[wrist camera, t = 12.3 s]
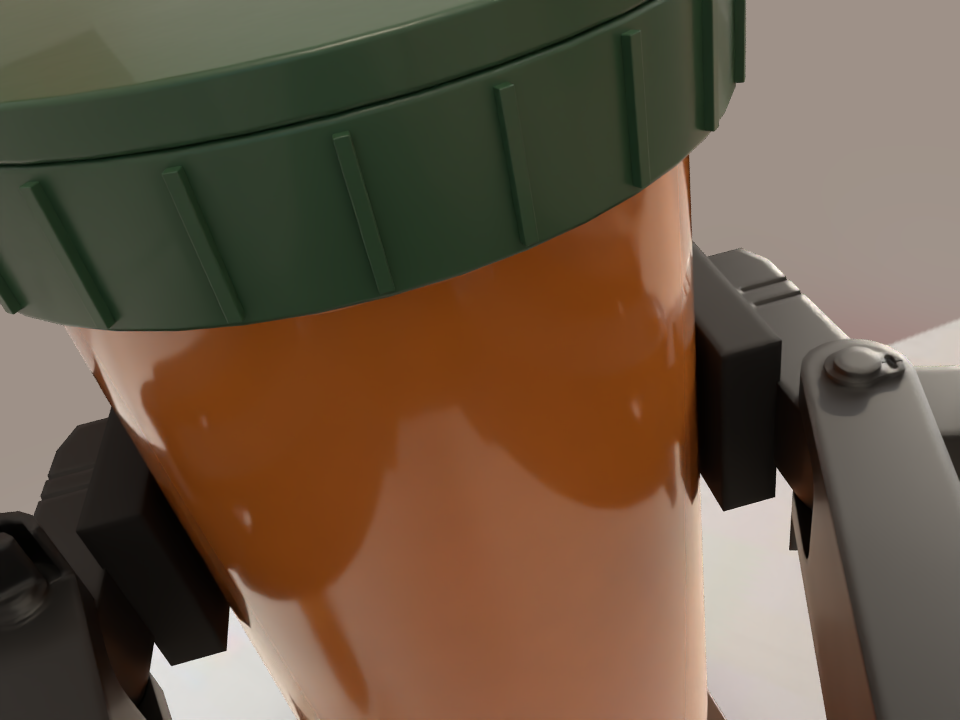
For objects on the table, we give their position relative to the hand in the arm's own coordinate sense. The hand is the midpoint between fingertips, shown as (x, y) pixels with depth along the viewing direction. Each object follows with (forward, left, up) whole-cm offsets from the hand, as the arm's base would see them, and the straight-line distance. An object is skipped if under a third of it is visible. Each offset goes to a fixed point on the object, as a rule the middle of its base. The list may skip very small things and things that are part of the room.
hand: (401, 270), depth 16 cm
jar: (+3, +4, -7) cm, 8 cm away
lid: (+3, +4, +6) cm, 8 cm away
